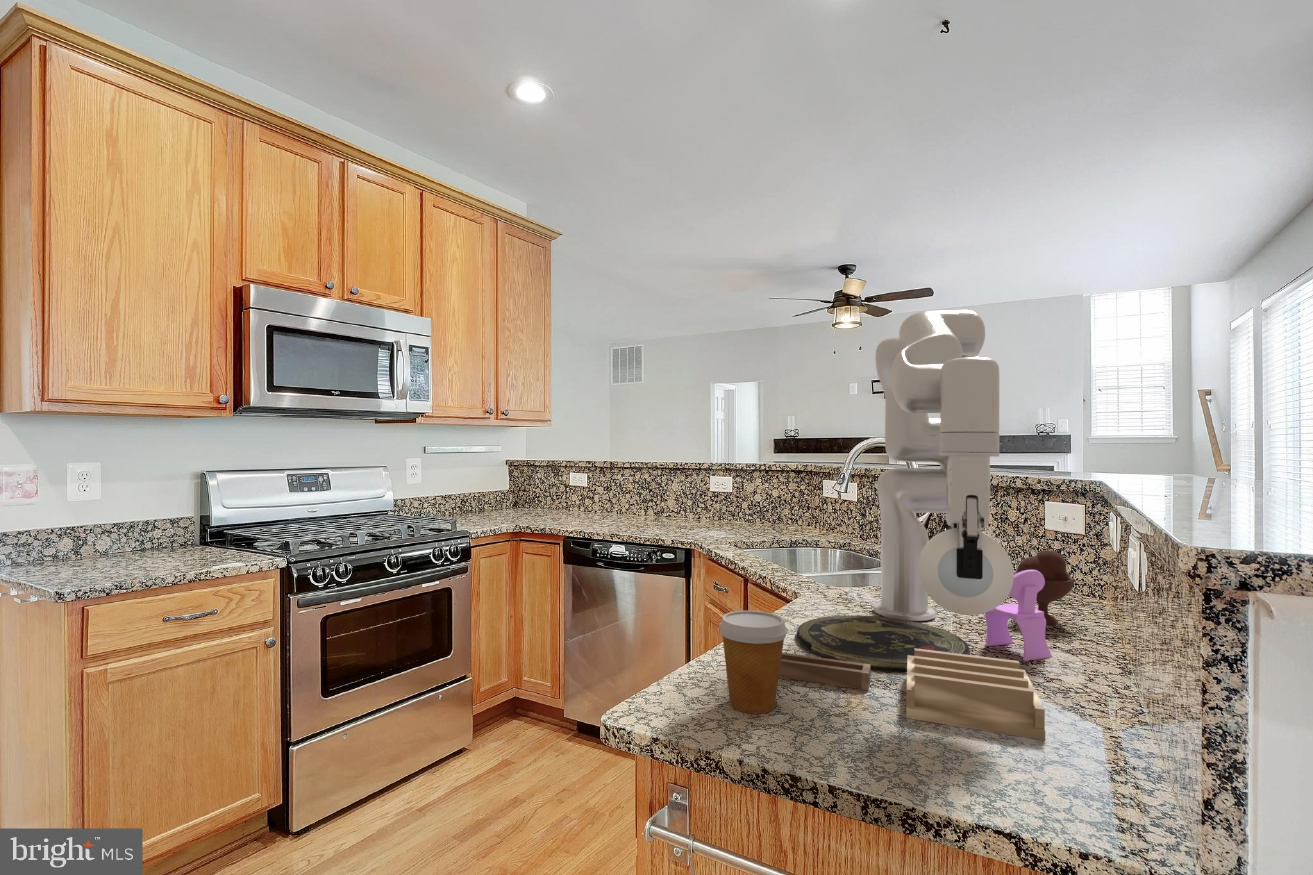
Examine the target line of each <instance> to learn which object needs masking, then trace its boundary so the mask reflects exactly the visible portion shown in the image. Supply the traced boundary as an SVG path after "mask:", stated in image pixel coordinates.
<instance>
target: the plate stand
mask: <svg viewBox="0 0 1313 875" xmlns="http://www.w3.org/2000/svg"><path fill="white" fill-rule="evenodd" d="M870 665H871V664H864V663H856V662H849V661H841V660H834V659H827V658H821V657H819V656H810V655H804V654H798V653H797V654H795V653H787V652H782V658H781V666H780V673H779V678H784V679H791V680H795V681H797V680H798V681H804V682H810V683H817V684H824V685H830V686H838V687H842V688H850V689H857V690H863V691H869V689H870V685H871V670H870Z"/></svg>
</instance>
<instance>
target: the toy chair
mask: <svg viewBox="0 0 1313 875" xmlns="http://www.w3.org/2000/svg"><path fill="white" fill-rule="evenodd" d="M1044 584H1045V579H1044V577H1043V575H1042V574H1041V573H1040V572H1039V571H1037V570H1025V571H1021V572H1019V573H1017V574H1015V575H1014V580H1013V585H1012V588H1011V591H1010V593H1009V595H1008V596H1009V597H1011V598H1013V599H1014V600H1016V601H1017V603H1014V602H1013V603H1012V602H1011V603H1005V604H1000V605H999V606H998V607H996V608H995V609H993V610H991V611H989V612H986V613H984V616H985V622H986V637H985V638H986V640H985V646H986V647H991V646H1000V645H1001V646H1002V645H1010V644H1014V641H1013V639H1012V637H1011V635H1010V632H1009V631H1010V630H1009V628H1008V624H1009V623H1008V622H1009V619H1011V620H1013V621H1014V622H1016V624H1017V627H1018V628H1019V630H1020V632H1021V635H1022V638H1023V646H1024V647H1023V657H1022V660H1023V661H1032V660H1038V659H1039V660H1041V659H1047V658H1048V659H1049V658H1053V655H1052V653H1051V651H1050V648H1049V646H1048V644H1047V641H1046V627H1047V625H1046V619H1045V618H1044V612H1042V611H1039V610H1038V609H1036V607H1037V606H1036V605H1037V604H1036V603H1037V601H1036V598H1037V593H1038V592H1039V591H1040V590H1042V588H1043V587H1044Z"/></svg>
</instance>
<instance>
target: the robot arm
mask: <svg viewBox="0 0 1313 875" xmlns="http://www.w3.org/2000/svg"><path fill="white" fill-rule="evenodd" d="M898 335H899V336H895V337H890V338H886V339H884V340H882V341H880V342H879V343H878V345H877V347H876V349H875V367H876V372H877V376H878V379H879V382H880V384H881V388H882V391H883V394H884V401H885V407H884V408H885V410H884V414H885V415H884V416H885V417H884V420H885V421H884V444H885V446H884V447H885V453H886V454H887V457H888V458H889V459H891V460H893V461H896V462H901V463H903V462H905V463H937V464H939V466H940V468H921V467H894V468H890V469H886V470H884V471H883V472H881V473H880V474H879V476H878V478H877V485H876V489H877V491H876V492H877V497H878V505H879V513H880V531H881V532H880V533H881V534H880V535H881V536H880V537H881V538H880V539H881V540H880V542H881V545H880V548H881V549H880V550H881V551H880V602H876V603H874V604H873V612H874V613H876V614H877V615H879V616H880V617H887V618H894V619H901V620H907V621H912V622H923V621H926V622H927V621H930V620H934V619H935V618H936V617H937V612H936V610H935V609H934V608H932V607H930V606H929V595H928V594H927V593H926V591H925V589H924V588H923V586H922V583H921V580H920V576H919V558H920V555H921V552H922V550H923V548H924V546H925V545H926V544H927V542H928V541H929V534H928V531H927V528H926V527H925V526H924V524H923V523H922V522H921V521H920V520H919V519H918V518H917V517H916V514H920V513H921V514H922V513H930V514H934V513H935V514H945V515H946V516H945V521H946V523H947V524H948V525H949V526H950V527H951V528H955V524H956V528H959V548H957V576H958V577H959V578H970V579H982V577H983V550H981V532H983V530H982V529H986V528H987V527H988V525H989V517H990V503H991V501H990V497H991V458H990V457H1000V366H999V363H998V362H997V361H996V360H995V359H993V358H989V357H979V354H980V352H981V350H982V349H983V346H984V343H985V340H986V328H985V323H984V320H983V319H982V316H980V315H979V314H978V313H977V312H975V311H973V310H970V309H969V310H968V309H955V310H953V309H950V310H949V309H948V310H926V311H925V310H924V311H920V312H919V311H918V312H915V313H912V314H911V315H909V316H907V317H906V318H905V319H904V321H903V322H902V324H901V326H900V328H899V334H898ZM928 414H940V415H939V417H937V418H936V417H934V418H933V417H932V418H931V417H929V415H928ZM963 531H964V532H963ZM963 538H964V540H963Z"/></svg>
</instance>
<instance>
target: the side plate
mask: <svg viewBox="0 0 1313 875" xmlns="http://www.w3.org/2000/svg"><path fill="white" fill-rule="evenodd" d="M963 532H964V531H963ZM963 540H964V538H963ZM957 548H959V528H957V527H951V528H949V529H945V530H943V531H941V532H939V533H937V534H935V535H934V536H933V537H931V538H930V539H928V542H927V544H926V545H925V546H924V548H923V550H922V552H921V555H920V558H919V576H920V580H921V583H922V586H923V588H924V589H925V591H926V593H927V594H928V597H929V598H930V599H931V600H932V601H933V602H934V603H936V604H937V605H938V606H939V607H941V608H943V609H945V610H946V611H949V612H951V613H954V614H959V615H963V616H973V615H974V616H977V615H982V614H985V613H986V612H989V611H991V610H993V609H995V608H996V607H998V606H999V605H1002V604H1003V602H1005V600H1006V599H1007V598H1008V596H1009V593H1010V591H1011V588H1012V585H1013V580H1014V566H1013V562H1012V560H1011V557H1010V556H1009V554H1008V553H1007V551H1006V549H1005V548H1004V547H1003V546H1002V545H1001V544H1000V543H999V542H998V541H997V540H996V539H995V538H994V537H992V536H991V535H989V534H987V533H985V532H983V531H981V550H983V577H982V579H970V578H959V577H958V576H957Z"/></svg>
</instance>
